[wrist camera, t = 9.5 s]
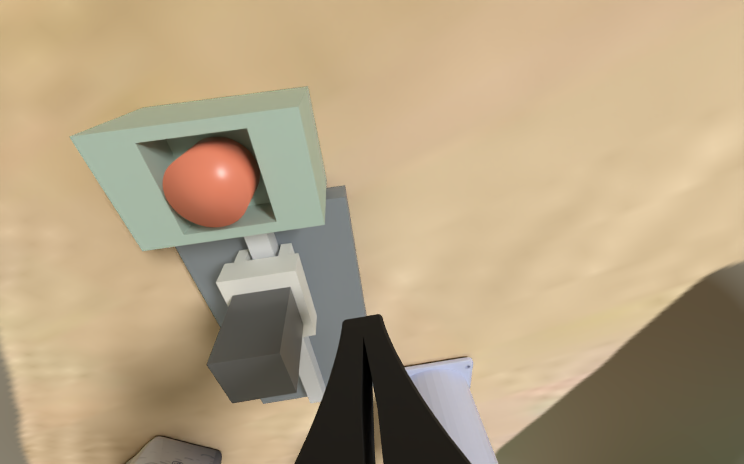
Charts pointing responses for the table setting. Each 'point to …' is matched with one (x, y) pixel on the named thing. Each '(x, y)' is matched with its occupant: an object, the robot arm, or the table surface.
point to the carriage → (262, 325)
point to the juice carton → (175, 453)
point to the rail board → (323, 275)
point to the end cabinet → (183, 130)
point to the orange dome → (212, 182)
